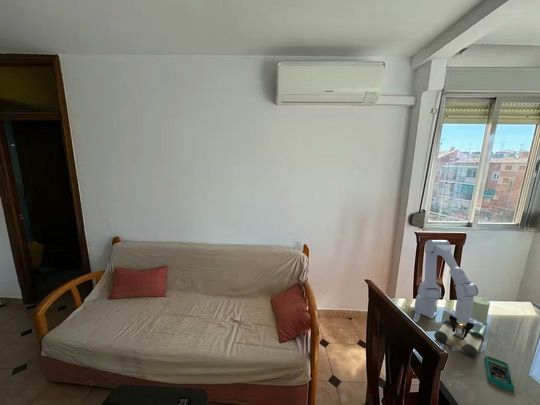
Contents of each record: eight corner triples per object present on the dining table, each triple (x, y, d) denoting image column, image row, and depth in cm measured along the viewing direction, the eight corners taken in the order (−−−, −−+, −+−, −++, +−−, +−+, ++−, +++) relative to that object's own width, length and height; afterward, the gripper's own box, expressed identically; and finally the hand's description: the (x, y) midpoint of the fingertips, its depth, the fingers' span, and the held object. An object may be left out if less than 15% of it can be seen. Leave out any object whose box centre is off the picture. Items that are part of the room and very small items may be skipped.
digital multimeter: (487, 383, 93) (488, 377, 93) (483, 359, 105) (485, 353, 104) (513, 394, 89) (515, 388, 88) (507, 368, 101) (508, 362, 100)
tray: (447, 327, 125) (448, 321, 125) (453, 319, 132) (454, 313, 131) (479, 341, 115) (481, 335, 115) (484, 332, 122) (485, 326, 122)
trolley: (433, 339, 116) (435, 329, 115) (443, 326, 126) (444, 318, 125) (476, 360, 104) (477, 349, 103) (483, 344, 113) (485, 335, 113)
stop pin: (452, 340, 115) (454, 324, 114) (454, 336, 118) (457, 320, 116) (462, 345, 112) (465, 328, 111) (464, 341, 114) (467, 325, 113)
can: (491, 324, 128) (495, 304, 126) (474, 324, 128) (477, 303, 126) (477, 314, 137) (480, 294, 135) (460, 313, 137) (463, 294, 136)
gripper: (442, 303, 115) (439, 329, 117) (482, 318, 104) (477, 346, 106) (447, 298, 120) (443, 323, 122) (485, 312, 108) (480, 339, 111)
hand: (459, 333), depth 114 cm, fingers closed on stop pin, 4 cm apart
